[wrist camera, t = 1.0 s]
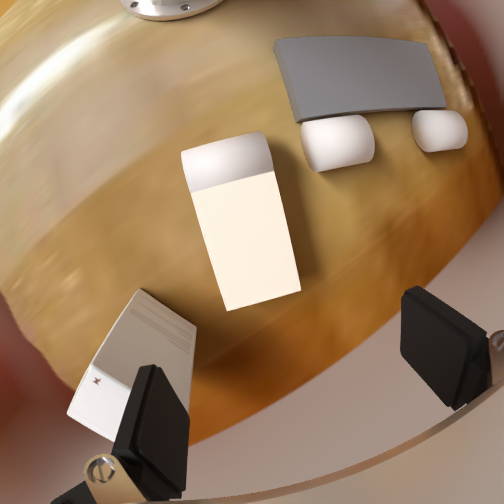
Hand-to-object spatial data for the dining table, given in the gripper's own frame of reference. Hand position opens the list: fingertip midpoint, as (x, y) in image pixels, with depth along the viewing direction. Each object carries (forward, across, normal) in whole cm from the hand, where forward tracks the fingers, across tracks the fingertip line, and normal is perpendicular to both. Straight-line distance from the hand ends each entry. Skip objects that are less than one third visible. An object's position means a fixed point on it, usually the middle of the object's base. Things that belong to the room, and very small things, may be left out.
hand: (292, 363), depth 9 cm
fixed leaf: (+17, -16, -12) cm, 26 cm away
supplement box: (+17, +12, +6) cm, 22 cm away
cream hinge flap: (+17, 0, -3) cm, 17 cm away
